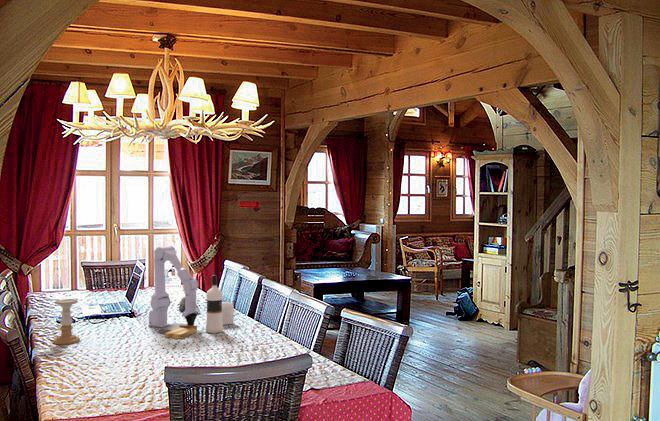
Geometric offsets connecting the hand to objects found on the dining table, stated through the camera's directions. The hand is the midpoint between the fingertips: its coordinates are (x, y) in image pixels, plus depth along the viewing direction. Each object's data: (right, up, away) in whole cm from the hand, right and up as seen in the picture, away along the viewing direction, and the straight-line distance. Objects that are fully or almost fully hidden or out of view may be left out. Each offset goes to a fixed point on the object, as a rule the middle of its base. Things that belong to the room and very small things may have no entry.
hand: (190, 327), depth 333 cm
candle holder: (-55, -2, -26) cm, 61 cm away
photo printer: (+15, -1, +16) cm, 22 cm away
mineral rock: (-12, 0, +50) cm, 52 cm away
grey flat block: (-9, -2, +1) cm, 9 cm away
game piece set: (+36, -4, -47) cm, 59 cm away
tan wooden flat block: (-3, -2, -9) cm, 10 cm away
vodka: (+13, -2, -2) cm, 13 cm away
